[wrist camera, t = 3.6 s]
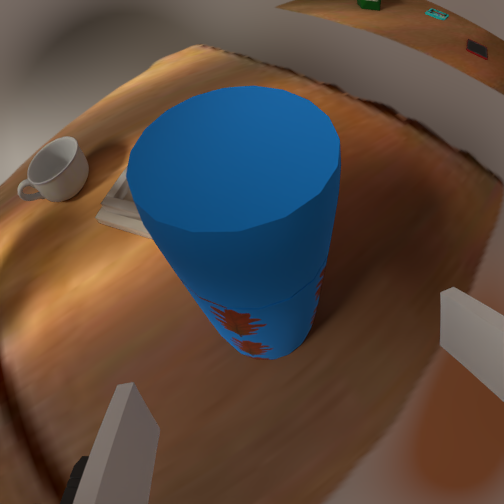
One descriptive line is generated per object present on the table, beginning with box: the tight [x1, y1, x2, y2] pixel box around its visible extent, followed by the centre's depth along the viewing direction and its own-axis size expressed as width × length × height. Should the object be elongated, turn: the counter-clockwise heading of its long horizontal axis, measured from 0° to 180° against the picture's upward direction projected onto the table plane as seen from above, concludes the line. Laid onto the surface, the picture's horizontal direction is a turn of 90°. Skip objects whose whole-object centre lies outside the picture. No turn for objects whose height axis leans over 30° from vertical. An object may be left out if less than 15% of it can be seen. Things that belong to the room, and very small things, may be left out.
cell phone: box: [466, 39, 488, 60], centre depth 70 cm, size 8×15×1 cm, turn 146°
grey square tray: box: [95, 166, 152, 239], centre depth 46 cm, size 20×20×4 cm
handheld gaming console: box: [425, 9, 449, 20], centre depth 87 cm, size 8×1×15 cm
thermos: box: [126, 86, 341, 360], centre depth 26 cm, size 11×11×25 cm
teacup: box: [18, 137, 89, 202], centre depth 48 cm, size 14×11×8 cm
